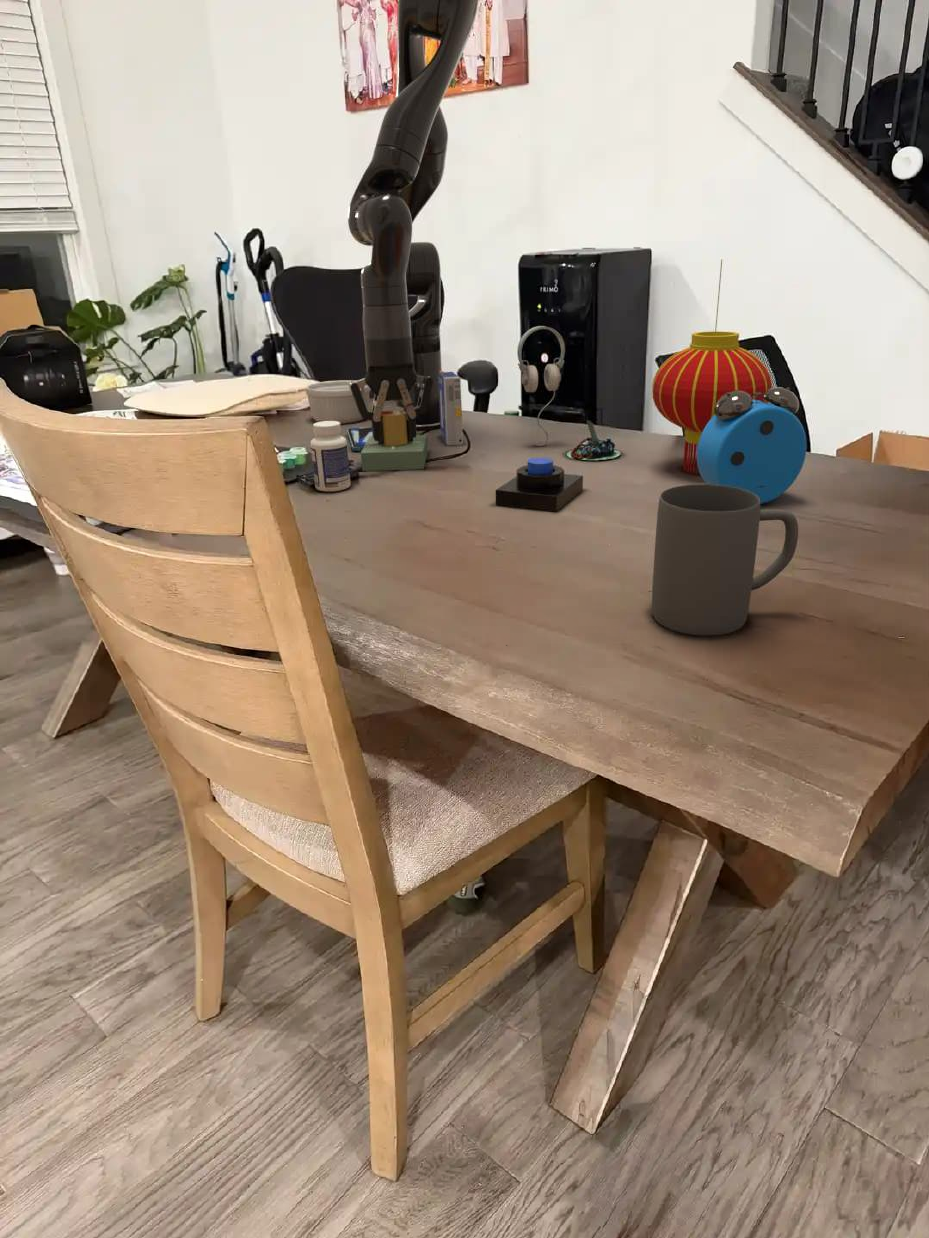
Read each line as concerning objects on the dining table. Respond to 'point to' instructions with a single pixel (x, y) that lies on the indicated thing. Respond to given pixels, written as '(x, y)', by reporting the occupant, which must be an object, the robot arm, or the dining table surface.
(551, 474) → the lamp switch
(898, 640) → the dining table surface
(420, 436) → the block
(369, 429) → the smartphone
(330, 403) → the ramekin
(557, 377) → the headphones
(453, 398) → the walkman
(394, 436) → the dimmer knob
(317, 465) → the pill bottle
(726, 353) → the lantern
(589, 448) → the dish
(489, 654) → the dining table surface
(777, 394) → the alarm clock
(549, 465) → the button
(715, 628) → the mug
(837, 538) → the dining table surface
